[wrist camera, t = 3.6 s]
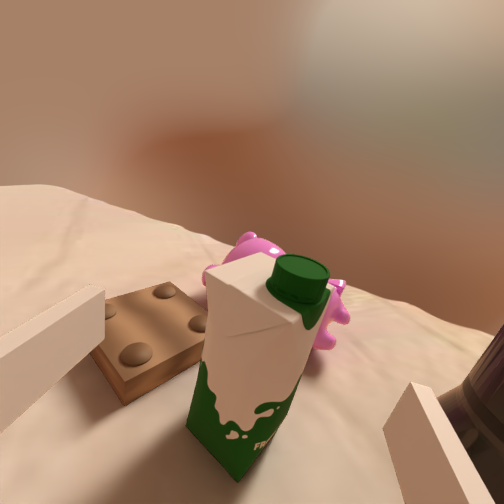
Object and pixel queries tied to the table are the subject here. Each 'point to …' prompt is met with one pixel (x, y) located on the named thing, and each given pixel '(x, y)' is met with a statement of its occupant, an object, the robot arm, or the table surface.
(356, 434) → the table surface
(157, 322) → the base brick
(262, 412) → the soya milk
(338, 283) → the toy character
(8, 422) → the robot arm
